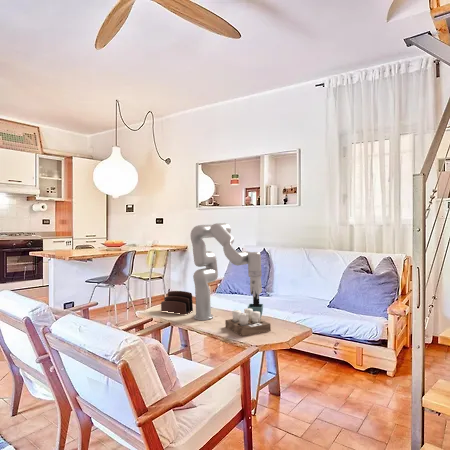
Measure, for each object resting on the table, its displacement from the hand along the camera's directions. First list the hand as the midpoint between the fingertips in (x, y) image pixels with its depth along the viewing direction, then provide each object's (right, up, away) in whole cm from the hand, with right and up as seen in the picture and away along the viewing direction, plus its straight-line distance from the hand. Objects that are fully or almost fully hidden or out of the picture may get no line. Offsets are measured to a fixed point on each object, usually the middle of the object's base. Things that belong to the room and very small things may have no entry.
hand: (256, 305), depth 198 cm
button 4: (0, -10, 0) cm, 10 cm away
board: (-5, -13, +1) cm, 14 cm away
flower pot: (+1, -13, +19) cm, 23 cm away
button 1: (-11, -10, +4) cm, 15 cm away
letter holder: (-51, -15, +43) cm, 68 cm away
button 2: (-7, -10, -3) cm, 13 cm away
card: (-1, -9, -6) cm, 11 cm away
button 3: (-4, -10, +8) cm, 13 cm away
